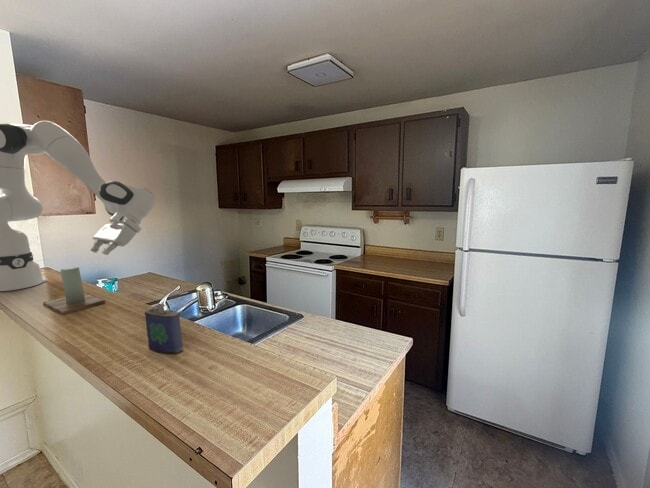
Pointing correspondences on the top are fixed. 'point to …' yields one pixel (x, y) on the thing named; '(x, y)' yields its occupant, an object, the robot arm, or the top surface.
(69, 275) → the green rectangular block
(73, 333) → the top surface
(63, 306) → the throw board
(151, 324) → the flask
